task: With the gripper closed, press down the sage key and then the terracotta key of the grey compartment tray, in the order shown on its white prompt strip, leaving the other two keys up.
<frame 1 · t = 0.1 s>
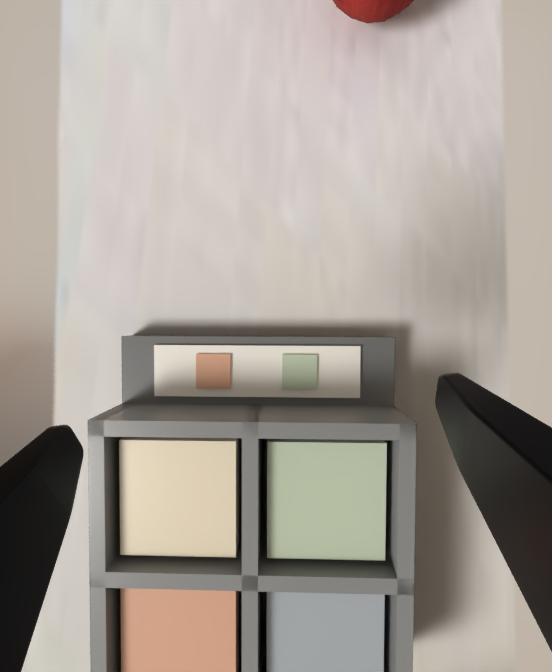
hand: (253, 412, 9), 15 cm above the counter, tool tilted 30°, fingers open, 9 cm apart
slate key: (323, 635, 21), point 4 cm above the counter, slide at 0.0 cm
sand key: (181, 492, 21), point 4 cm above the counter, slide at 0.0 cm
terracotta key: (181, 631, 21), point 4 cm above the counter, slide at 0.0 cm
sage key: (324, 494, 20), point 4 cm above the counter, slide at 0.0 cm
onion: (363, 10, 24), on the counter
grey compartment tray: (258, 494, 25), on the counter
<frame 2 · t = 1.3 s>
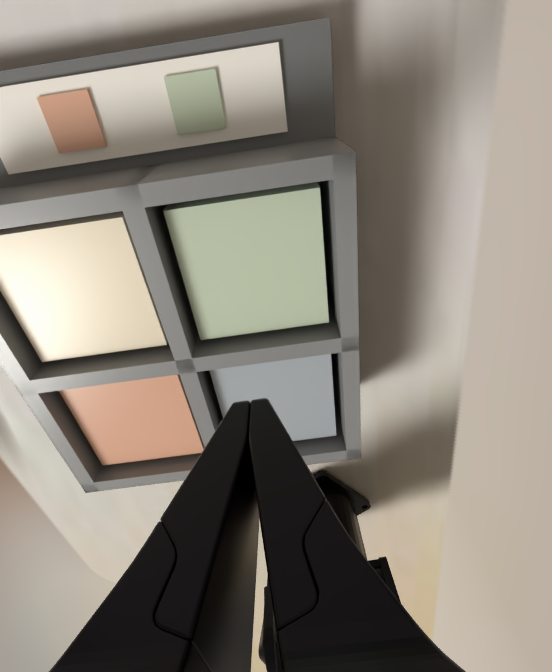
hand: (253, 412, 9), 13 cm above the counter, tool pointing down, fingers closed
slate key: (276, 394, 21), point 4 cm above the counter, slide at 0.0 cm
sand key: (84, 289, 17), point 4 cm above the counter, slide at 0.0 cm
terracotta key: (139, 412, 21), point 4 cm above the counter, slide at 0.0 cm
sage key: (253, 264, 17), point 4 cm above the counter, slide at 0.0 cm
grey compartment tray: (190, 276, 21), on the counter
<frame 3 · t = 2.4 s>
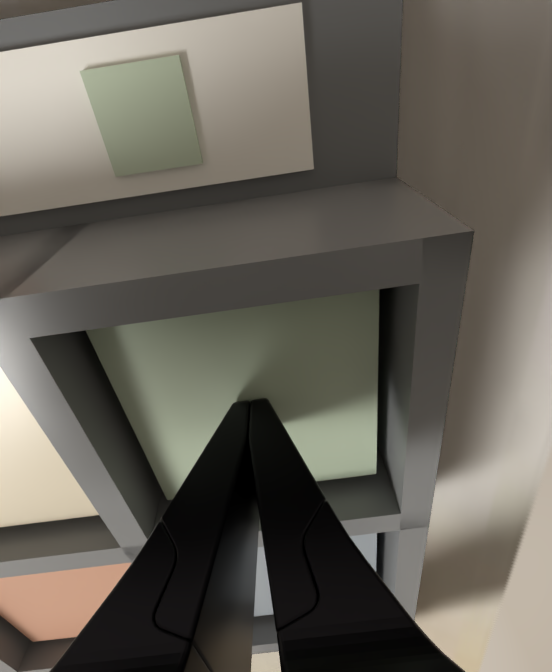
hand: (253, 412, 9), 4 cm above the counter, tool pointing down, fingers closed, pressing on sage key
slate key: (287, 551, 14), point 4 cm above the counter, slide at 0.0 cm
terracotta key: (82, 576, 14), point 4 cm above the counter, slide at 0.0 cm
sage key: (253, 390, 10), point 4 cm above the counter, slide at 0.2 cm, touching gripper
grey compartment tray: (158, 372, 14), on the counter
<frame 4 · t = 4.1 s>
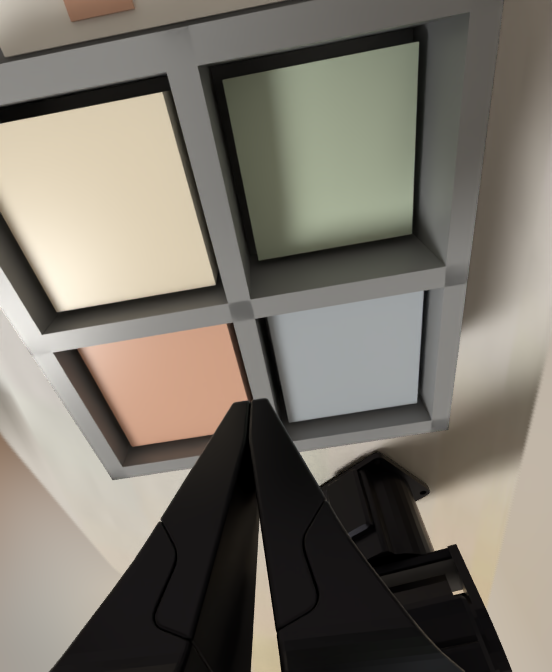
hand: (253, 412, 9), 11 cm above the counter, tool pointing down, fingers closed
slate key: (345, 352, 17), point 4 cm above the counter, slide at 0.0 cm
sand key: (108, 211, 13), point 4 cm above the counter, slide at 0.0 cm
terracotta key: (176, 379, 17), point 4 cm above the counter, slide at 0.0 cm
sage key: (324, 161, 14), point 2 cm above the counter, slide at 1.5 cm
grey compartment tray: (234, 210, 17), on the counter
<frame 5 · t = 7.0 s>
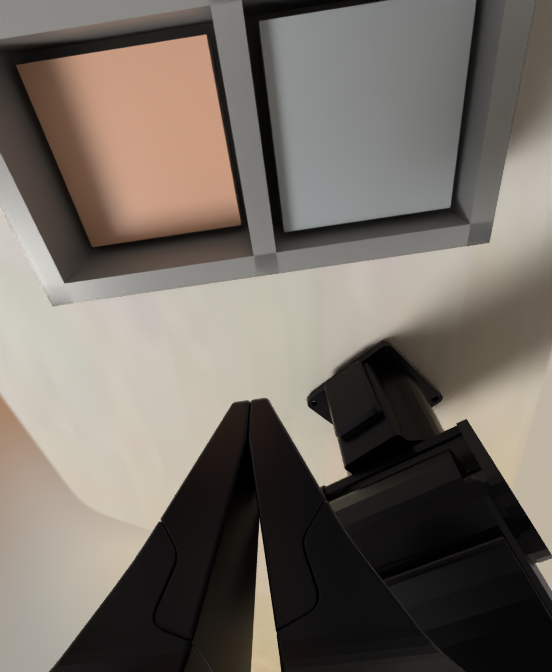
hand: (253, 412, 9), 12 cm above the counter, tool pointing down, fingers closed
slate key: (361, 124, 13), point 4 cm above the counter, slide at 0.0 cm
terracotta key: (146, 150, 14), point 2 cm above the counter, slide at 1.5 cm
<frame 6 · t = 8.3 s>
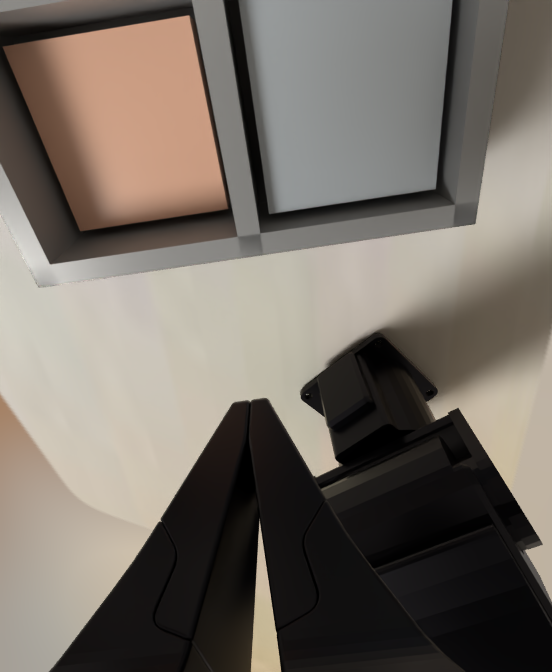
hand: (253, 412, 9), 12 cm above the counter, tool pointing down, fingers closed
slate key: (344, 104, 13), point 4 cm above the counter, slide at 0.0 cm
terracotta key: (133, 134, 14), point 2 cm above the counter, slide at 1.5 cm
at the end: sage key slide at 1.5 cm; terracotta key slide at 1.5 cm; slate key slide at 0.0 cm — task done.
